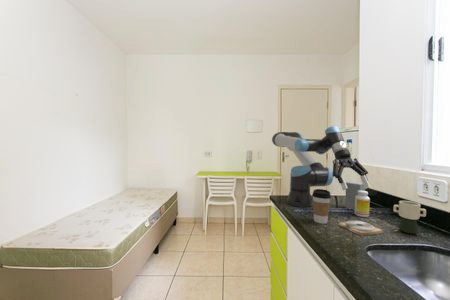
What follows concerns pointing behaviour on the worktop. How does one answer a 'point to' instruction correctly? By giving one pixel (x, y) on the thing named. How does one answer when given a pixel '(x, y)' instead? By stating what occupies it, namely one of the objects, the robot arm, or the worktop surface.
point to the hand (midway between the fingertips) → (356, 188)
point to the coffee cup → (321, 205)
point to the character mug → (409, 215)
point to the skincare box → (353, 193)
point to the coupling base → (360, 227)
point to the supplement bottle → (362, 204)
